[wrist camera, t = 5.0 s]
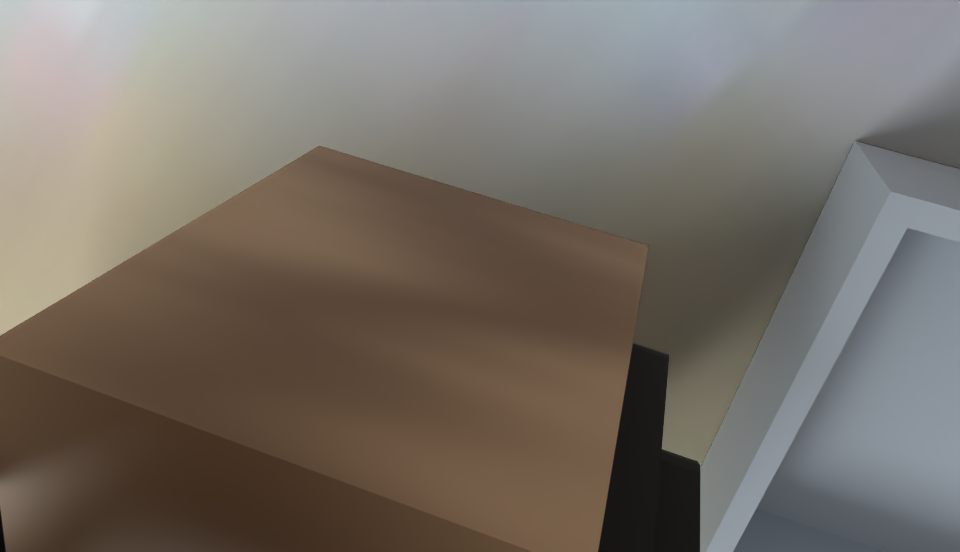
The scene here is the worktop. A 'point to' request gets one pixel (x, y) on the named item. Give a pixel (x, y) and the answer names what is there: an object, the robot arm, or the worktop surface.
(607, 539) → the robot arm
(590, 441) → the walnut block
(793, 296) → the tote
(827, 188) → the worktop surface
